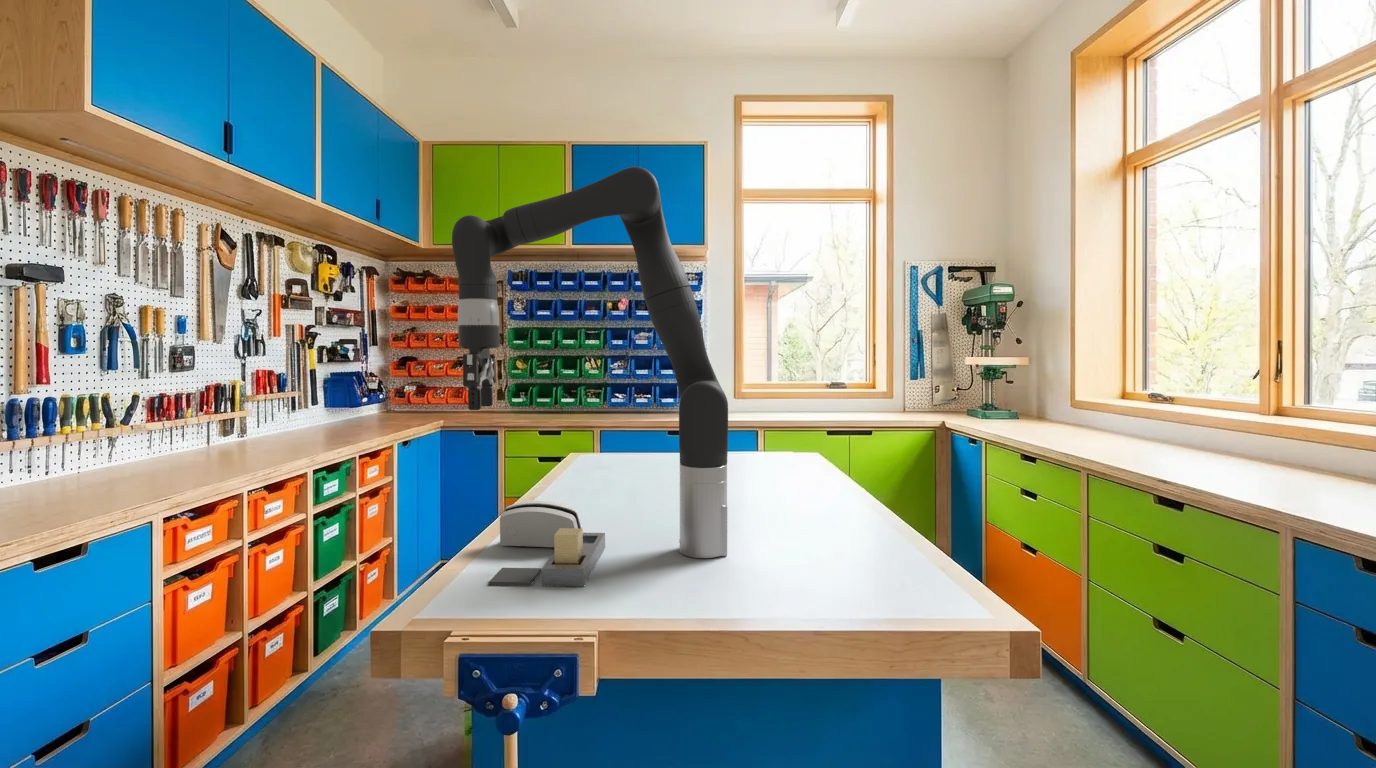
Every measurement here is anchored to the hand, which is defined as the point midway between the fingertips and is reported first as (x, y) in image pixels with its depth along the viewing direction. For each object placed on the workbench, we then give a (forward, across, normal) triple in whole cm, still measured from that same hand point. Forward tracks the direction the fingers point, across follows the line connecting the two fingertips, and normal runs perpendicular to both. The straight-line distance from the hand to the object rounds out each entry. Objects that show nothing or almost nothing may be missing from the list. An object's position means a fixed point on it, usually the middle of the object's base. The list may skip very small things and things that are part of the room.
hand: (481, 407), depth 123 cm
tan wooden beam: (+28, -16, -18) cm, 37 cm away
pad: (+28, -16, -9) cm, 33 cm away
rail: (+28, -10, -19) cm, 35 cm away
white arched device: (+28, +2, -11) cm, 30 cm away
